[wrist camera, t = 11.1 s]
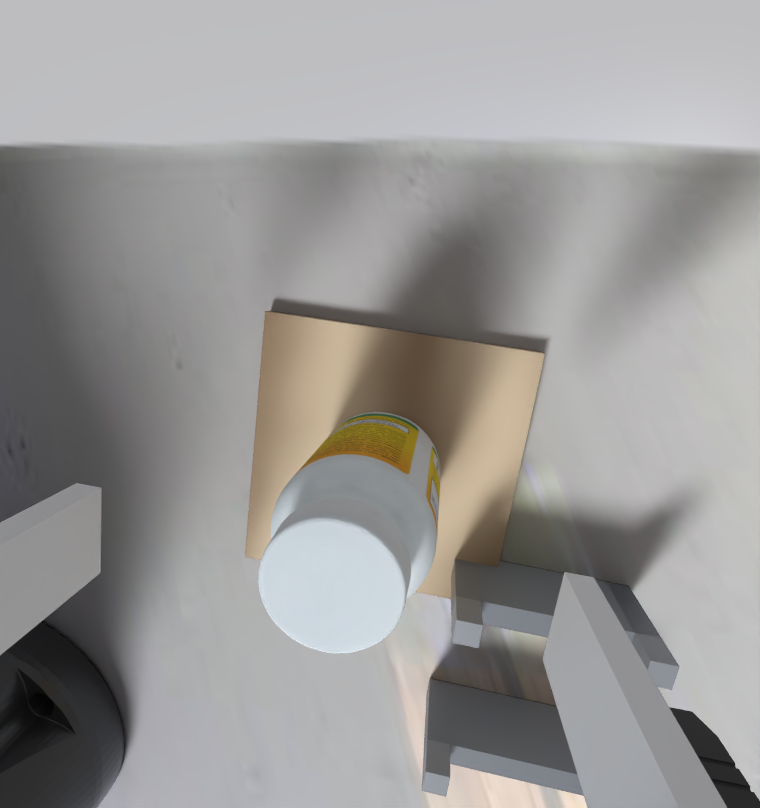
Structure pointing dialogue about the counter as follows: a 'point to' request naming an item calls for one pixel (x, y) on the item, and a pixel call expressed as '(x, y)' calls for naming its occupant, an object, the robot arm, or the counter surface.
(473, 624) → the holder
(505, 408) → the square wooden board
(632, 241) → the counter surface
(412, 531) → the supplement bottle
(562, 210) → the counter surface
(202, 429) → the counter surface
